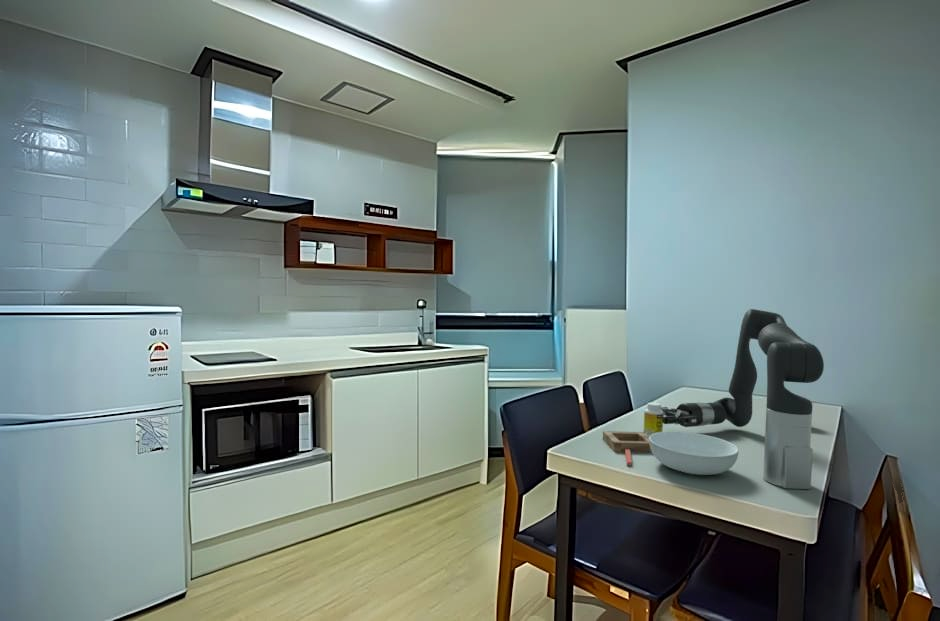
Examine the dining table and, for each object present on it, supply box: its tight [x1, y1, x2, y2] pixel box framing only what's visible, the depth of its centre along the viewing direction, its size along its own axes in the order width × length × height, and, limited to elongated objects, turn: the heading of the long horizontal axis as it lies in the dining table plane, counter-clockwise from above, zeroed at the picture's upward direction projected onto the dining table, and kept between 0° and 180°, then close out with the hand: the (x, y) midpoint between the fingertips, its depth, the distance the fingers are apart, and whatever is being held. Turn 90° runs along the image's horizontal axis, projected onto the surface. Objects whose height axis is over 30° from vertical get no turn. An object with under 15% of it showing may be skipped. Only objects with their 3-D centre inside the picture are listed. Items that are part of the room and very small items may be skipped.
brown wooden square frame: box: [602, 430, 652, 453], centre depth 149 cm, size 12×12×2 cm
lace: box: [624, 449, 633, 467], centre depth 136 cm, size 12×1×1 cm, turn 165°
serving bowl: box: [649, 430, 740, 476], centre depth 130 cm, size 21×21×7 cm
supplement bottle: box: [643, 402, 664, 437], centre depth 159 cm, size 6×6×10 cm
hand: (654, 417), depth 159 cm, fingers open, 8 cm apart
